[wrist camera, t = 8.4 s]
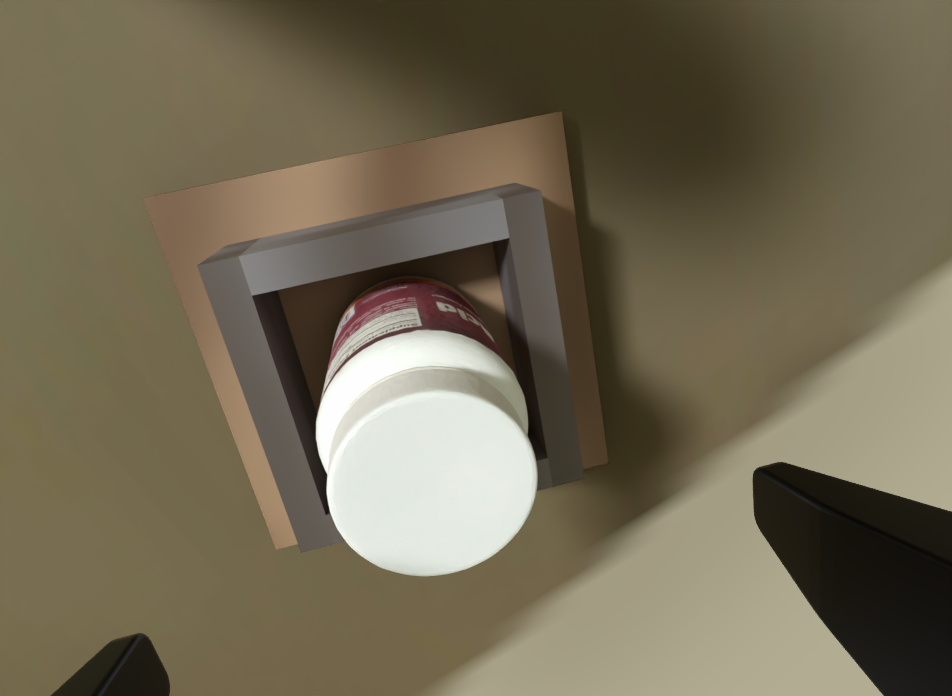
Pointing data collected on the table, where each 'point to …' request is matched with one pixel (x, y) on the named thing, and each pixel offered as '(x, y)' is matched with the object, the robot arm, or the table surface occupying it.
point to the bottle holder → (375, 260)
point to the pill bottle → (423, 431)
